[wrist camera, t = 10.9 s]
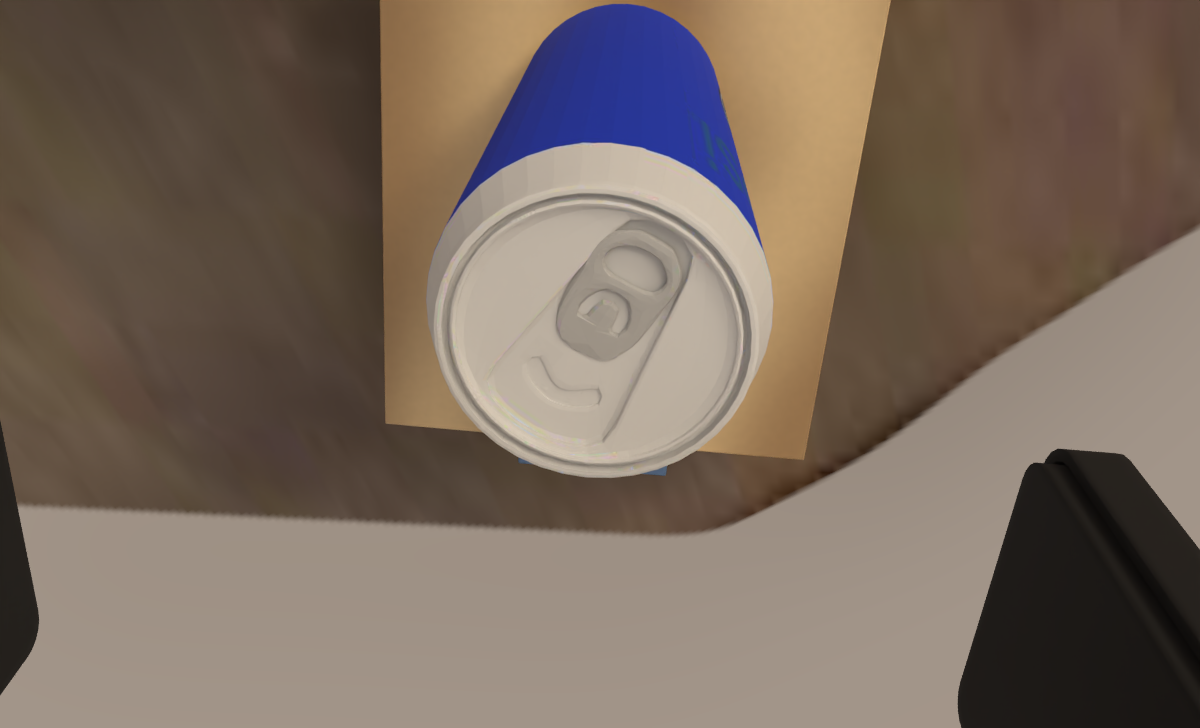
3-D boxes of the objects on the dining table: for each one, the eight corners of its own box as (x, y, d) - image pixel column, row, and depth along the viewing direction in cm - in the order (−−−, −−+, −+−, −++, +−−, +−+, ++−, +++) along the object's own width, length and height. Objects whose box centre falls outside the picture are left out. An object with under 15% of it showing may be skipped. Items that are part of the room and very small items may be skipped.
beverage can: (651, 229, 30) (653, 549, 17) (489, 132, 29) (352, 391, 16) (757, 69, 28) (856, 287, 15) (587, -41, 27) (526, 86, 14)
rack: (426, 330, 40) (384, 424, 33) (429, -115, 33) (377, -103, 27) (779, 361, 40) (804, 461, 33) (853, -79, 33) (902, -58, 27)
